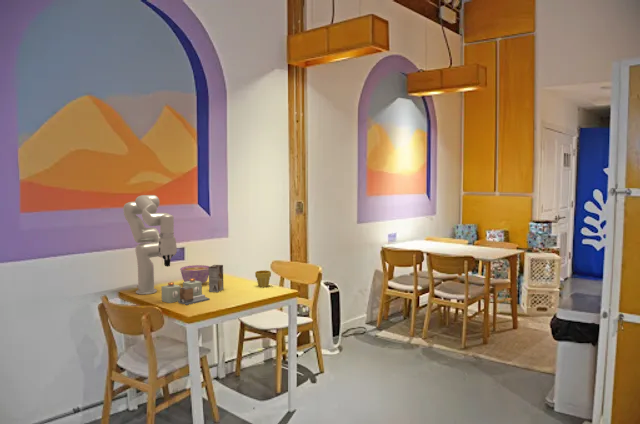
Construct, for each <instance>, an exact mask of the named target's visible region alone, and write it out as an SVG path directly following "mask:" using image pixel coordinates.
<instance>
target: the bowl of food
mask: <svg viewBox="0 0 640 424" xmlns="http://www.w3.org/2000/svg"><path fill="white" fill-rule="evenodd" d="M209 267H210V266H209V265H204V264H203V265H202V264H201V265H200V264H196V265H195V264H194V265H193V264H192V265H185V266H182V267H180V269H179V270H180V275H181V277H182V281H183V282H187V281H190V280H189V279H191V278H195V281H200V282H202V285H203V284H204V283H206V282H207V281H208V280H209Z"/></svg>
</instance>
